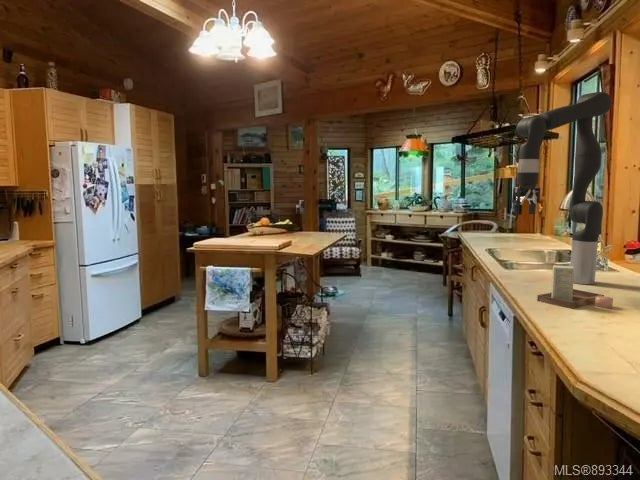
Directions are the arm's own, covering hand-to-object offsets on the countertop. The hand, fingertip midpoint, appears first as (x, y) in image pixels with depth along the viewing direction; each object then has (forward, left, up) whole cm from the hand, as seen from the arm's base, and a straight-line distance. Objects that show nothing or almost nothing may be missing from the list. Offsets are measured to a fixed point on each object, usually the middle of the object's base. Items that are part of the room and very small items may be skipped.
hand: (525, 214), depth 189 cm
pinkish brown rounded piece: (+3, +32, -28) cm, 43 cm away
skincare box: (+11, +22, -28) cm, 37 cm away
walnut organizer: (+5, +22, -28) cm, 36 cm away
